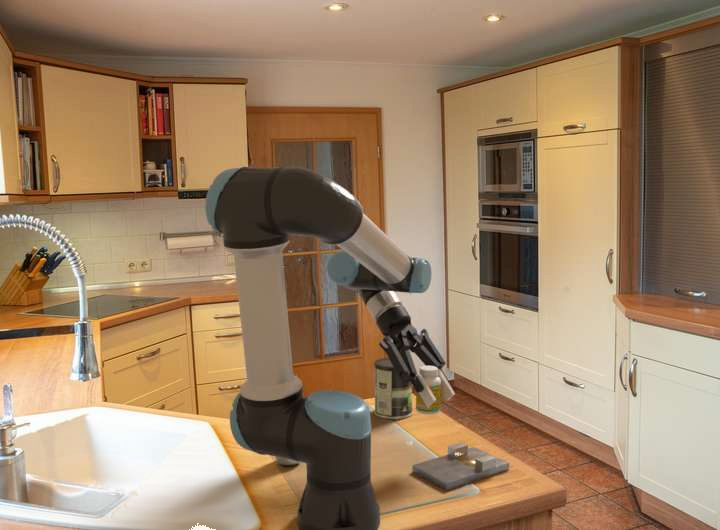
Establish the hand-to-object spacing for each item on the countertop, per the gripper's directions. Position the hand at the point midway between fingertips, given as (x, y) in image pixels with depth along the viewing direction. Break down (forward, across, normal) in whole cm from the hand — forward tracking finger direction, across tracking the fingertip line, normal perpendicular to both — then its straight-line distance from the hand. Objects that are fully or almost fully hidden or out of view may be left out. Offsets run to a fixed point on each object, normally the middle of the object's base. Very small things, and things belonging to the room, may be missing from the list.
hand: (441, 400), depth 147 cm
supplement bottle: (0, 0, -5) cm, 5 cm away
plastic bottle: (-6, +23, -28) cm, 37 cm away
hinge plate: (+14, -2, -8) cm, 16 cm away
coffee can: (-12, -17, -34) cm, 40 cm away
